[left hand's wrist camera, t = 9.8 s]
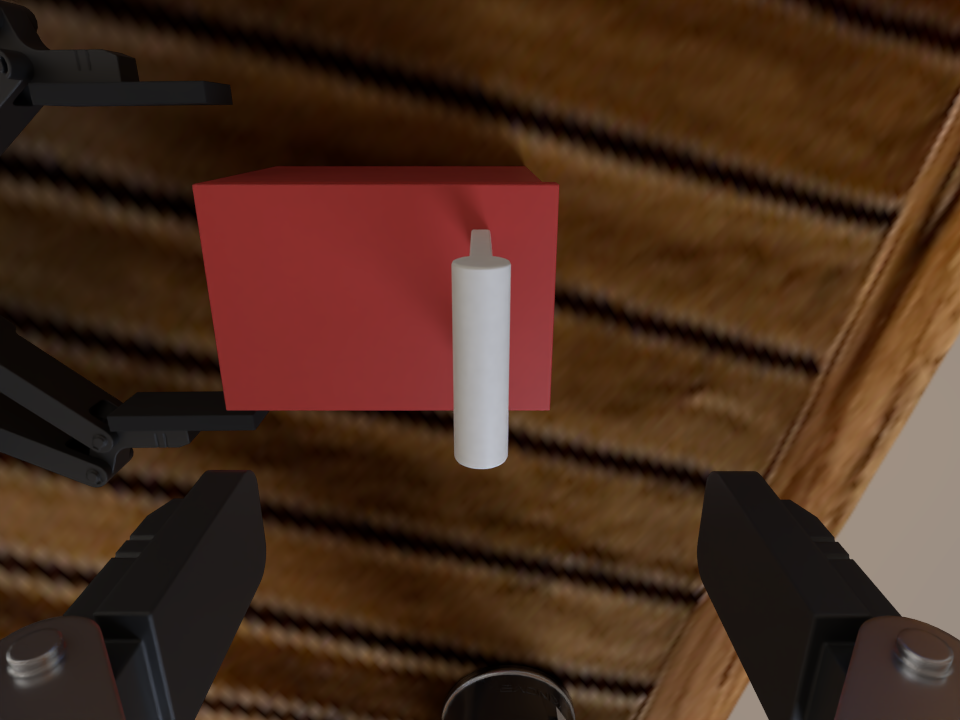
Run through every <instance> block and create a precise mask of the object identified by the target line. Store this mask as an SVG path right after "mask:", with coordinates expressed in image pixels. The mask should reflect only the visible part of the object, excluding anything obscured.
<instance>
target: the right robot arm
mask: <svg viewBox="0 0 960 720" xmlns="http://www.w3.org/2000/svg"><path fill="white" fill-rule="evenodd" d="M37 28H38V26H37V20H36V18H35V16H34V14H33V13H32V12H31V11H30V10H29V9H27V8H26V7H24V6H21V5H17V4H13V3H9V2H5V1H1V0H0V156H1V155H2V154H3V152H4V151H5V150H6V149H7V148H8V147H9V145H10V144H11V143H12V142H13V141H14V140H15V138H16V137H17V136H18V135H19V134H20V133H21V131H22V130H23V129H24V128H25V127H26V125H27V124H28V123H29V122H30V121H31V120H32V118H33V117H34V116H35V115H36V114H37V113H38V111H39V110H40V109H41V108H42V107H43V106H44V105H50V106H75V107H77V106H160V105H233V104H232V96H231V89H230V85H227V84H221V83H214V82H207V81H150V82H139V77H138V71H137V66H136V60H135V58H132V57H130V56H127V55H125V54H122V53H118V52H112V51H107V50H102V49H97V50H50V49H48V48H47V47H46V46H45V45H44V44H43V42H42V41H41V40H40V38H39V36H38V34H37ZM268 412H269V410H226V405H225V398H224V391H218V392H137V393H136V394H135V395H133V396H132V397H131V398H129V399H128V400H127V401H126V402H124V403H122V402H121V401H119V400H118V399H116V398H115V397H113V396H111V395H110V394H108V393H107V392H105V391H104V390H102V389H101V388H99V387H98V386H96V385H95V384H93V383H91V382H90V381H88V380H87V379H85V378H84V377H82V376H81V375H79V374H78V373H76V372H75V371H73V370H72V369H70V368H68V367H67V366H65V365H64V364H62V363H61V362H59V361H58V360H56V359H55V358H53V357H52V356H50V355H49V354H47V353H45V352H44V351H42V350H41V349H39V348H38V347H36V346H35V345H33V344H32V343H30V342H29V341H27V340H26V339H24V338H22V337H21V336H19V335H18V334H17V333H16V327H15V325H14V324H13V323H12V322H10V321H9V320H7V319H6V318H4V317H3V316H1V315H0V452H2V453H5V454H8V455H10V456H13V457H16V458H18V459H21V460H23V461H26V462H29V463H31V464H34V465H37V466H39V467H42V468H44V469H47V470H50V471H52V472H55V473H57V474H60V475H63V476H65V477H68V478H71V479H73V480H76V481H78V482H81V483H84V484H86V485H89V486H92V487H101V486H103V485H105V484H106V483H107V482H108V481H109V480H110V479H111V478H112V477H113V476H114V475H115V474H116V473H117V472H118V471H119V470H120V469H121V468H122V467H123V466H124V465H125V464H126V463H127V462H129V461H130V460H131V458H132V457H133V449H132V448H155V447H181V446H184V445H186V444H189V443H190V442H191V441H192V440H193V439H194V438H195V437H196V436H197V435H198V433H199V432H200V431H216V430H256V428H257V427H258V426H259V424H260V423H261V421H262V420H263V419H264V417H265V416H266V415H267V413H268Z"/></svg>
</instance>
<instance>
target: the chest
mask: <svg viewBox="0 0 960 720" xmlns="http://www.w3.org/2000/svg"><path fill="white" fill-rule="evenodd" d="M206 182H541V181H540V180H539V179H538V178H537V177H536V176H535V175H534V174H533V173H532V172H531V171H530V170H529V169H528V168H527V167H525V166H275V167H271V168H266V169H261V170H257V171H252V172H247V173H243V174H238V175H233V176H229V177H224V178H220V179H215V180H210V181H206Z"/></svg>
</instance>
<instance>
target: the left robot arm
mask: <svg viewBox="0 0 960 720" xmlns="http://www.w3.org/2000/svg"><path fill="white" fill-rule="evenodd" d="M697 560H698V568H699V573H700V577H701V580H702V582H703V585H704V587H705V589H706V591H707V593H708V595H709V597H710V599H711V601H712V603H713V605H714V607H715V609H716V611H717V613H718V616H719V618H720V620H721V622H722V624H723V626H724V628H725V630H726V632H727V634H728V636H729V638H730V640H731V642H732V644H733V647H734V649H735V651H736V653H737V655H738V657H739V659H740V661H741V663H742V665H743V667H744V669H745V671H746V673H747V675H748V678H749V680H750V682H751V684H752V686H753V688H754V690H755V692H756V694H757V696H758V698H759V700H760V702H761V704H762V706H763V708H764V710H765V713H766V715H767V717H768V719H769V720H960V640H958V639H957V638H955V637H953V636H952V635H950V634H948V633H947V632H945V631H943V630H941V629H939V628H937V627H934V626H932V625H930V624H927V623H924V622H921V621H918V620H915V619H911V618H906V617H902V616H901V615H900V614H899V613H898V612H897V610H896V609H895V608H894V607H893V606H892V605H891V603H890V602H889V601H888V600H887V599H886V598H885V596H884V595H883V594H882V593H881V592H880V591H879V589H878V588H877V587H876V586H875V585H874V583H873V582H872V581H871V580H870V579H869V578H868V576H867V575H866V574H865V573H864V572H863V571H862V569H861V568H860V567H859V566H858V565H857V564H856V562H855V561H854V560H853V559H849V554H848V553H847V552H846V551H845V550H844V548H843V547H842V546H841V545H840V544H839V542H835V540H834V537H833V535H832V534H831V533H830V532H829V531H828V530H827V528H826V527H825V526H824V525H823V524H822V523H821V521H820V520H819V519H818V518H817V517H816V516H814V515H813V514H811V513H810V512H808V511H807V510H805V509H803V508H802V507H800V506H799V505H797V504H796V503H794V502H793V501H791V500H780V499H779V498H778V496H777V495H776V494H775V493H774V491H773V490H772V489H771V488H770V486H769V485H768V484H767V482H766V481H765V480H764V479H763V477H762V476H761V475H760V474H759V473H758V472H755V471H713V472H711V473H710V474H709V476H708V479H707V482H706V488H705V495H704V502H703V509H702V516H701V523H700V531H699V538H698V545H697ZM265 561H266V542H265V534H264V527H263V520H262V513H261V506H260V499H259V491H258V484H257V479H256V476H255V474H254V473H253V471H251V470H208V471H206V472H205V473H204V474H203V475H202V476H201V477H200V479H199V480H198V481H197V482H196V484H195V485H194V486H193V488H192V489H191V490H190V491H189V493H188V494H187V495H186V496H185V498H184V499H172V500H171V501H169V502H168V503H166V504H165V505H163V506H162V507H160V508H159V509H157V510H156V511H154V512H152V513H151V514H149V515H148V516H147V517H146V518H145V519H144V520H143V521H142V523H141V524H140V525H139V526H138V527H137V529H136V530H135V531H134V532H133V533H132V534H131V536H130V540H126V542H125V543H124V544H123V545H122V546H121V547H120V549H119V550H118V551H117V552H116V556H115V558H111V559H110V560H109V562H108V563H107V564H106V565H105V566H104V568H103V569H102V570H101V571H100V572H99V573H98V575H97V576H96V577H95V578H94V579H93V581H92V582H91V583H90V584H89V585H88V586H87V588H86V589H85V590H84V591H83V592H82V594H81V595H80V596H79V597H78V598H77V599H76V601H75V602H74V603H73V604H72V605H71V607H70V608H69V609H68V610H67V611H66V612H65V614H64V615H63V616H60V617H54V618H49V619H45V620H42V621H39V622H36V623H33V624H30V625H28V626H26V627H23V628H21V629H19V630H17V631H15V632H13V633H11V634H10V635H8V636H7V637H5V638H3V639H2V640H0V720H195V718H196V716H197V714H198V712H199V709H200V707H201V705H202V703H203V701H204V699H205V697H206V695H207V693H208V691H209V689H210V686H211V684H212V682H213V680H214V678H215V676H216V674H217V672H218V670H219V668H220V666H221V663H222V661H223V659H224V657H225V655H226V653H227V651H228V649H229V647H230V645H231V643H232V640H233V638H234V636H235V634H236V632H237V630H238V628H239V626H240V624H241V622H242V620H243V617H244V615H245V613H246V611H247V609H248V607H249V605H250V603H251V601H252V599H253V597H254V594H255V592H256V590H257V588H258V586H259V584H260V582H261V579H262V576H263V573H264V568H265ZM442 720H575V715H574V708H573V703H572V700H571V698H570V696H569V694H568V692H567V691H566V689H565V688H564V687H563V686H562V685H561V684H560V683H559V682H558V681H557V680H556V679H554V678H553V677H551V676H550V675H548V674H546V673H544V672H542V671H540V670H537V669H534V668H531V667H526V666H520V665H498V666H491V667H487V668H484V669H481V670H478V671H476V672H473V673H471V674H469V675H468V676H466V677H464V678H463V679H462V680H460V681H459V682H458V683H457V684H456V685H455V686H454V687H453V688H452V689H451V690H450V692H449V693H448V695H447V697H446V699H445V702H444V704H443V709H442Z"/></svg>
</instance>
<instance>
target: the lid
mask: <svg viewBox="0 0 960 720" xmlns="http://www.w3.org/2000/svg"><path fill="white" fill-rule="evenodd" d="M192 187H193V194H194V201H195V207H196V214H197V220H198V227H199V234H200V240H201V247H202V253H203V260H204V266H205V273H206V280H207V286H208V293H209V299H210V306H211V312H212V319H213V326H214V332H215V339H216V345H217V352H218V359H219V365H220V372H221V378H222V385H223V391H224V398H225V405H226V410H454V456H455V458H456V460H457V461H458V462H459V463H460V464H461V465H463V466H466V467H469V468H474V469H488V468H493V467H496V466H499V465H501V464H502V463H503V462H504V461H505V460H506V458H507V456H508V410H550V395H551V371H552V347H553V323H554V300H555V276H556V252H557V228H558V204H559V184H557V183H556V182H201V183H196V184H193V185H192Z"/></svg>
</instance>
